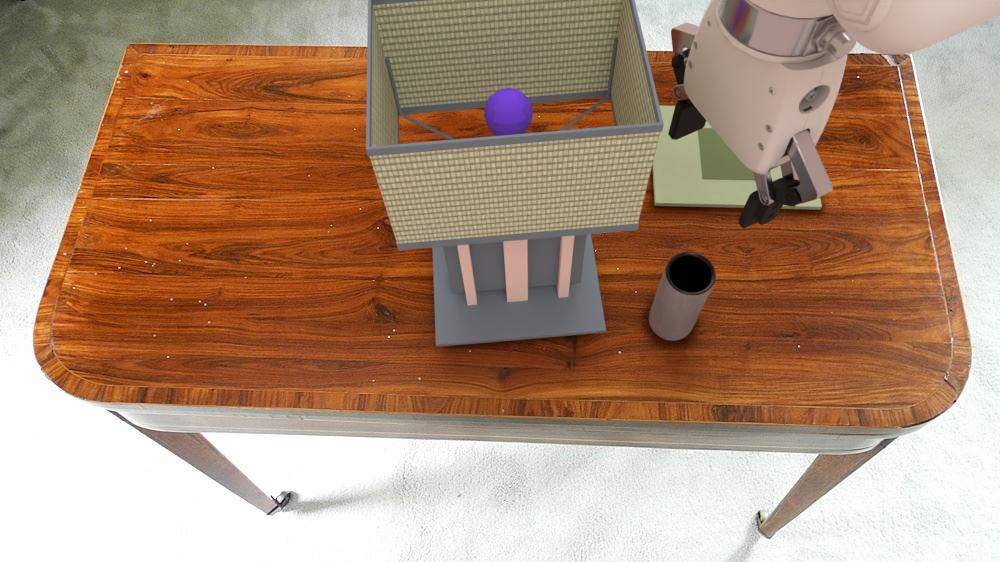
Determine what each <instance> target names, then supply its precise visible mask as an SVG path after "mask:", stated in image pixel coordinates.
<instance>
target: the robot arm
mask: <svg viewBox="0 0 1000 562" xmlns="http://www.w3.org/2000/svg"><path fill="white" fill-rule="evenodd" d="M998 16H1000V0H710V2H709V4H708V6H707V8H706V10H705V11H704V14H703V16H702V18H701V20H700V22H699V24H698V25H696V24H694V23H689V22H685V23H682V24H679V25H677V26H675V27H672V28H671V30H670V35H671V36H670V38H671V47H672V52H673V53H674V55H673V56H672V57H671V67H672V69H673V73H674V78H675V81H676V85H674V86H673V87H672V94H673V96H674V98H675V100H677V102H676V103H675V105H674V106H675V109H674V113H673V117H672V121H671V125H670V129H669V133H668V135H669V136H670V137H671V139H674V140H677V139H679V138H682V137H684V136H686V135H689V134H691V133H693V132H695V131H698V130H700V129H702V128H703V127H704V126H705V123H706V121H707V122H708V123H709V124H710V125H711V127H712V128H713V129H714V130H715V132H716V133H717V134H718V135H719V136H720V138H721V139H722V140H723V141H724V142H725V143H726V145H727V146H728V147H729V148H730V149H731V151H732V152H733V153H734V154H735V155H736V156H737V157H738V159H739V160H740V161H741V162H742V163H743V164H744V165H745V166H746V167H747V168H749V169H750V170H752V171H754V176H755V181H756V186H757V191H754V192H753V193H751V194H750V195H749V198H748V200H747V202H746V204H745V206H744V208H742V210H741V212H740V215H739V217H738V219H737V220H738V223H737V224H738V225H739V226H740V227H741V229H746V228H748V227H750V226H752V225H755V224H757V223H758V224H759V225H760V226H763V225H766V224H767V223H770V222H771V221H773V220H774V219H776V218H777V217H778V215H779V214H780V211H781V210H782V209H781V208H782V206H783V205H787V206H796V205H798V204H801V203H806V202H809V201H812V200H816V199H818V198H822V197H824V196H826V195H828V194H830V193H833V190H834V187H833V183H832V181H831V179H830V177H829V175H828V173H827V170H826V168H825V166H824V164H823V160H822V159H821V157H820V154H819V152H818V149H817V148H816V146H817V144H818V142H819V140H820V138H821V136H822V134H823V132H824V131H825V127H826V125H827V123H828V120H829V119H830V116H831V113H832V111H833V108H834V106H835V103H836V100H837V97H838V95H839V92H840V89H841V85H842V82H843V78H844V75H845V70H846V67H847V61H848V60H847V59H848V56H849V55H848V54H849V53H851V51H852V50H853V49H854V47H855V46H856V45H857V43H858V44H860V45H861V46H862V47H864V48H866V49H867V50H869V51H871V52H874V53H877V54H882V55H883V54H884V55H888V56H889V55H890V56H891V55H892V56H893V55H894V56H895V55H906V54H911V53H916V52H918V51H921V50H924V49H927V48H930V47H933V46H935V45H938V44H939V43H941V42H943V41H946V40H947V39H950V38H952V37H955V36H957V35H958V34H962V33H963V32H965V31H967V30H970V29H972V28H974V27H977V26H978V25H981V24H983V23H986V22H988V21H990V20H993V19H994V18H996V17H998ZM778 166H781V171H782V177H783V178H779V179H777V180H775V181H773V182H772V176H771V171H770V170H771V169H774V168H776V167H778Z"/></svg>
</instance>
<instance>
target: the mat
mask: <svg viewBox="0 0 1000 562" xmlns="http://www.w3.org/2000/svg"><path fill="white" fill-rule="evenodd" d="M659 106H660V111H661V115H662V119H663V123H664V126H663V130H662V132H660V136H659V140H658V144H657V148H656V152H655V156H654V161H653V165H652V169H651V170H652V185H653V187H652V188H653V202H654V203H653V204H654V207H684V208H686V207H688V208H725V209H727V208H730V209H743V208H744V206H745V204H746V202H747V200H748V198H749V195H750V194H751V193H753V192H754V191H757V186H756V181H755V176H754V171H752V170H750V169H749V168H747V167H746V166H745V165H744V164H743V163H742V162H741V161H740V160H739V159H738V157H737V156H736V155H735V154H734V153H733V152H732V151H731V149H730V148H729V147H728V146H727V145H726V143H725V142H724V141H723V140H722V139H721V138H720V136H719V135H718V134H717V133H716V132H715V130H714V129H713V128H712V127H711V125H710V124H709V123H708V122H707V121H706V123H705V126H704V127H703V128H702V129H700V130H698V131H695V132H693V133H691V134H689V135H686V136H684V137H682V138H679V139H677V140H674V139H671V137H670V136H669V135H668V133H669V129H670V125H671V121H672V117H673V113H674V109H675V105H659ZM770 171H771V176H772V182H773V181H775V180H777V179H779V178H783V177H782V171H781V166H778V167H776V168H774V169H771V170H770ZM821 198H822V197H820V198H818V199H816V200H812V201H809V202H806V203H801V204H798V205H796V206H787V205H783V206H782V208H781V210H813V211H814V210H815V211H816V210H817V211H821V209H822V207H823V204H822V199H821Z"/></svg>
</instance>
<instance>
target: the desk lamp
mask: <svg viewBox="0 0 1000 562" xmlns="http://www.w3.org/2000/svg"><path fill="white" fill-rule="evenodd" d="M366 40H367V47H366V48H367V49H366V114H365V115H366V116H365V117H366V121H365V125H366V127H365V152H366V154H367V157H369V160H370V162H371V165H372V169H373V173H374V175H375V178H376V181H377V184H378V188H379V191H380V194H381V197H382V200H383V203H384V204H383V205H384V207H385V209H386V213H387V216H388V219H389V223H390V225H391V228H392V231H393V235H394V238H395V245H396V248H397V251H407V250H418V249H432V273H433V274H432V275H433V277H432V278H433V303H434V304H433V305H434V328H435V329H434V330H435V333H434V334H435V347H437V348H438V347H439V348H440V347H450V346H451V347H452V346H464V345H474V344H484V343H485V344H487V343H498V342H499V343H500V342H511V341H521V340H522V341H523V340H535V339H545V338H557V337H558V338H559V337H568V336H580V335H582V336H583V335H593V334H603V333H606V332H607V326H606V321H605V314H604V308H603V301H602V297H601V296H602V295H601V289H600V283H599V275H598V270H597V264H596V263H597V262H596V257H595V251H594V245H593V237H592V235H595V234H596V235H598V234H608V233H621V232H633V231H638V230H639V227H640V222H639V221H640V218H641V214H642V208H643V206H644V201H645V198H646V197H645V196H646V193H647V189H648V186H649V181H650V176H651V173H652V170H653V169H652V165H653V161H654V156H655V152H656V148H657V144H658V140H659V136H660V132H662V130H663V126H664V123H663V119H662V115H661V111H660V106H661V105H660V102H659V97H658V94H657V89H656V85H655V81H654V77H653V73H652V72H653V71H652V68H651V64H650V63H651V62H650V59H649V55H648V51H647V47H646V43H645V39H644V35H643V30H642V25H641V21H640V17H639V13H638V8H637V4H636V0H367V39H366ZM601 98H602V99H601ZM591 99H592V100H593V99H601V100H599V101H598V102H597V103H595V104H593V105H592V106H591V107H590V108H588V109H587V110H585V111H584V112H583V113H581V114H580V115H577V117H576V118H574V119H572V120H571V121H569V123H567V124H565V125H564V126H563V127H561V128H559V130H553V131H541V132H540V131H539V132H527V133H526V131H527V130H528V128H529V127H530V126H531V124H532V120H533V114H534V110H533V107H532V104H543V103H555V102H566V101H578V100H591ZM608 99H609V102H610V108H611V113H612V118H613V123H614V125H612V126H611V125H609V126H601V127H600V126H599V127H588V128H587V127H586V128H576V129H569V128H571V127H572V126H573V125H575V124H576V123H577V122H579V121H580V120H581V119H584V118H585V117H586V116H587V115H588V114H590V113H591V112H593V111H594V110H595V109H597V108H599V107H600V106H601V105H603V104H604V103H605V102H606V101H608ZM483 108H484V112H483V117H484V120H485V122H486V125H487V128H488V129H489V131H491V133H493V136H481V137H469V138H454V137H452V136H450V135H448V134H446V133H444V132H442V131H440V130H438V129H435V128H433V127H431V126H429V125H428V124H425V123H423V122H422V121H419V120H417V119H415V118H413V117H411V116H409V115H412V114H425V113H435V112H437V113H438V112H448V111H461V110H472V109H483ZM400 116H401V117H402V118H403V119H405V120H407V121H409V122H411V123H413V124H415V125H417V126H420V127H421V128H424V129H425V130H428V131H430V132H432V133H434V134H436V135H438V136H441V137H442V138H445V140H435V141H434V140H433V141H432V140H431V141H420V142H410V143H400Z"/></svg>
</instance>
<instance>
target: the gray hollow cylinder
mask: <svg viewBox="0 0 1000 562" xmlns="http://www.w3.org/2000/svg"><path fill="white" fill-rule="evenodd" d="M716 280H717V272H716V268H715V266H714V265H713V262H711V260H710V259H709V258H708V257H706V256H705V255H703V254H701V253H699V252H696V251H688V250H687V251H680V252H678V253H676V254H673V255H672V256H671V257H670V258H669V259H668V260H667V262H666V264H665V266H664V269H663V272H662V275H661V278H660V281H659V284H658V287H657V290H656V292H655V296H654V298H653V302H652V305H651V307H650V309H649V314H648V325H649V326H650V329H651V330H652V332H653V333H654V334H655V335H656V336H658V337H659V338H661V339H662V340H666V341H670V342H671V341H672V342H674V341H681V340H683V339H685V338H686V337H688V336H689V335H690V333H691V332H692V330H693V329H694V327H695V326H696V323H697V320H698V318H699V316H700V314H701V312H702V310H703V308H704V307H705V305H706V302H707V300H708V298H709V296H710V294H711V292H712V289H713V288H714V286H715V283H716Z"/></svg>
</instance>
